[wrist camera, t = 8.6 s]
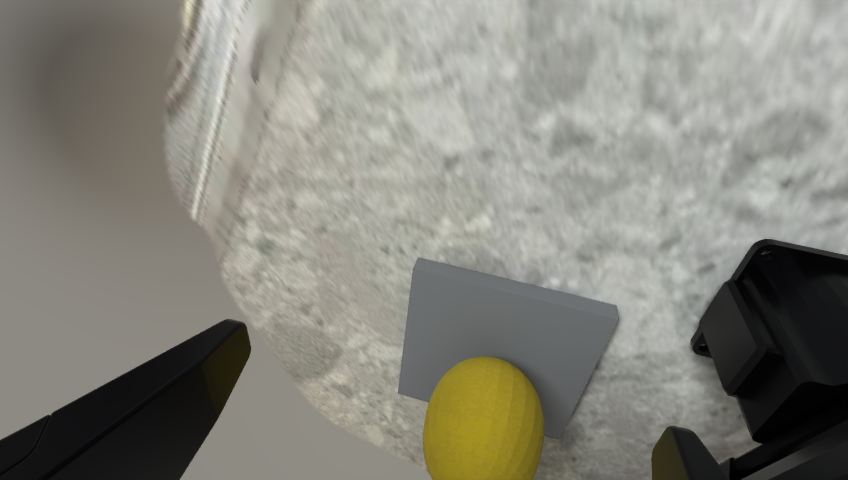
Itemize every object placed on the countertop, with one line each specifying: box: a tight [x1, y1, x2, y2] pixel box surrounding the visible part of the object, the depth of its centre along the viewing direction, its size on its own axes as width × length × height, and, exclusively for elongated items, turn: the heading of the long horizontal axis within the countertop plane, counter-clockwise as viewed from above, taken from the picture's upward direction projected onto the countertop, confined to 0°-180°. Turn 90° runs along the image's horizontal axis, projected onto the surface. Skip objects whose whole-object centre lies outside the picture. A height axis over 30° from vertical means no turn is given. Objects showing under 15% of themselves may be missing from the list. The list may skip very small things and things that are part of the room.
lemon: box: [423, 356, 544, 480], centre depth 21 cm, size 6×6×8 cm
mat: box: [398, 258, 619, 440], centre depth 25 cm, size 10×10×1 cm
